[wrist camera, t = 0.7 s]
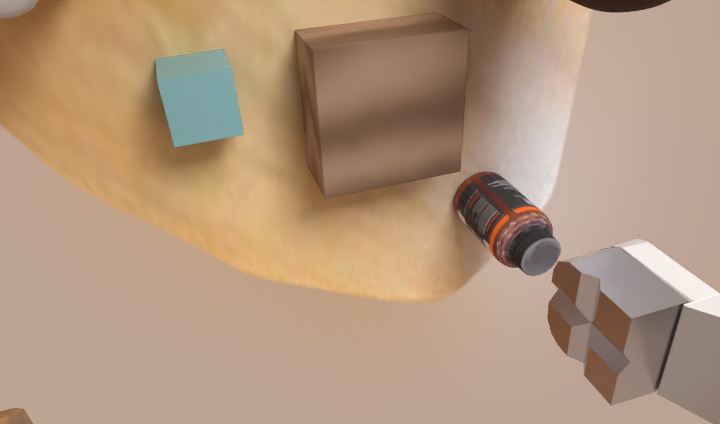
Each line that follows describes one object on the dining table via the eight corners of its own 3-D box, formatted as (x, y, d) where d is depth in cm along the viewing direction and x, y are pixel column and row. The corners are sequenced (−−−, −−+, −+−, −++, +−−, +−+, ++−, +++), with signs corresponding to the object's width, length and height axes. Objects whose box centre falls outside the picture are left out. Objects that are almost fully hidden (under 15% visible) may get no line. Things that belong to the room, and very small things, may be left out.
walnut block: (294, 29, 45) (312, 50, 40) (435, 11, 48) (469, 29, 43) (307, 165, 51) (325, 198, 46) (431, 143, 54) (460, 171, 49)
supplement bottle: (449, 224, 60) (505, 291, 50) (454, 173, 56) (515, 235, 47) (500, 215, 61) (564, 278, 52) (508, 165, 58) (577, 223, 49)
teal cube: (155, 59, 42) (156, 80, 38) (223, 48, 44) (231, 68, 40) (171, 121, 45) (174, 147, 41) (234, 110, 46) (243, 134, 42)
